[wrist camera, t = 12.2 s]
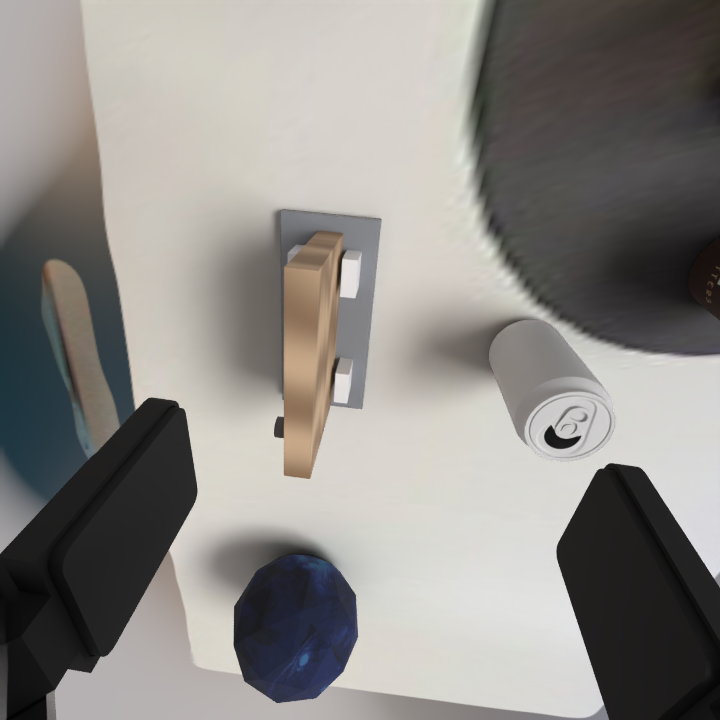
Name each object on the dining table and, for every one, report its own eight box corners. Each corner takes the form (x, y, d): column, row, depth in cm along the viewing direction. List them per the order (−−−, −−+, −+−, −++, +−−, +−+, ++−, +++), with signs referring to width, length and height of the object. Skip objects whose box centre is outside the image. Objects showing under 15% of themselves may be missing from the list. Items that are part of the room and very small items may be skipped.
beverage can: (475, 365, 39) (501, 449, 28) (508, 305, 36) (552, 374, 25) (537, 388, 40) (585, 478, 29) (575, 330, 36) (645, 407, 26)
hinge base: (283, 209, 34) (269, 217, 31) (381, 218, 34) (378, 228, 30) (285, 394, 43) (274, 417, 39) (362, 403, 42) (359, 427, 39)
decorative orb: (364, 558, 45) (252, 689, 37) (396, 638, 52) (308, 766, 43) (287, 509, 55) (185, 602, 46) (322, 581, 62) (238, 675, 53)
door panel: (304, 228, 34) (263, 264, 24) (343, 233, 33) (318, 271, 24) (300, 394, 41) (268, 473, 31) (332, 398, 41) (310, 478, 31)
